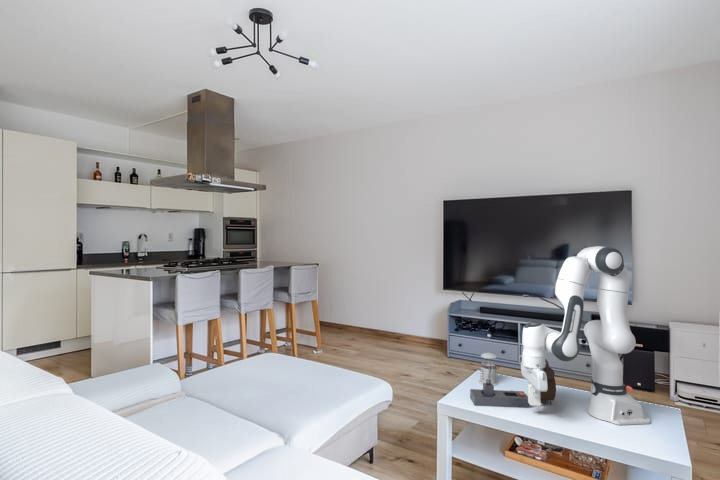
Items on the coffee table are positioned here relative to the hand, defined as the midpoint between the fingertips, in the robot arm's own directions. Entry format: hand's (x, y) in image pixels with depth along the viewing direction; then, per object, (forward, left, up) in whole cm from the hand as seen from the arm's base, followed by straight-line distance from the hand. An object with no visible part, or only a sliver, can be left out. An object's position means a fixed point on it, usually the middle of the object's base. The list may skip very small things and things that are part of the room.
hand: (534, 394), depth 171 cm
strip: (+11, -12, -9) cm, 18 cm away
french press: (+9, -37, -9) cm, 39 cm away
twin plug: (+16, -12, -9) cm, 22 cm away
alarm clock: (-9, -15, -9) cm, 20 cm away
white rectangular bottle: (0, 0, -4) cm, 4 cm away
